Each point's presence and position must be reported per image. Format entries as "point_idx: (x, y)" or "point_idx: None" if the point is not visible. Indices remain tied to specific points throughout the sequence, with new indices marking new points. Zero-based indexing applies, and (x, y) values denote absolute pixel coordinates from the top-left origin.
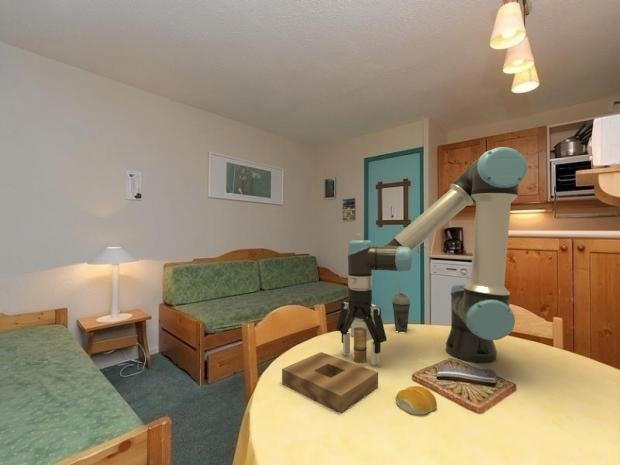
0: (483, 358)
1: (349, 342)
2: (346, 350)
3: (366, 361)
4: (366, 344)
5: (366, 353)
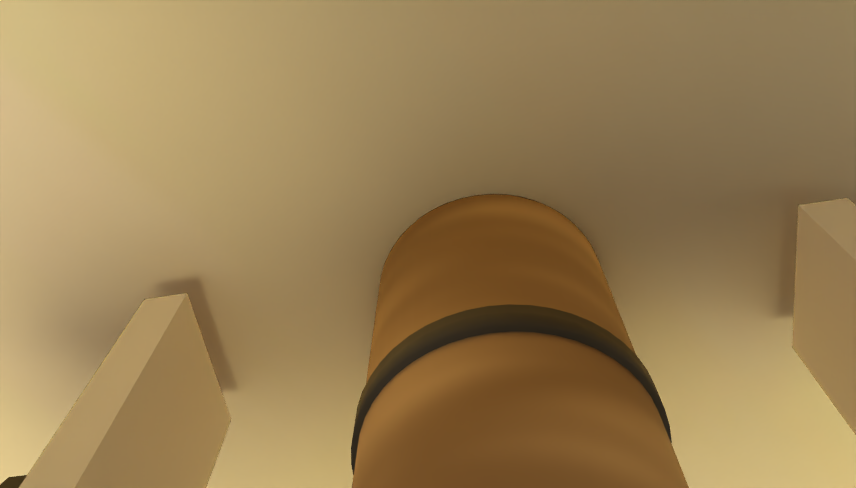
0: None
1: (116, 441)
2: (198, 430)
3: (591, 246)
4: (672, 454)
5: (623, 325)
